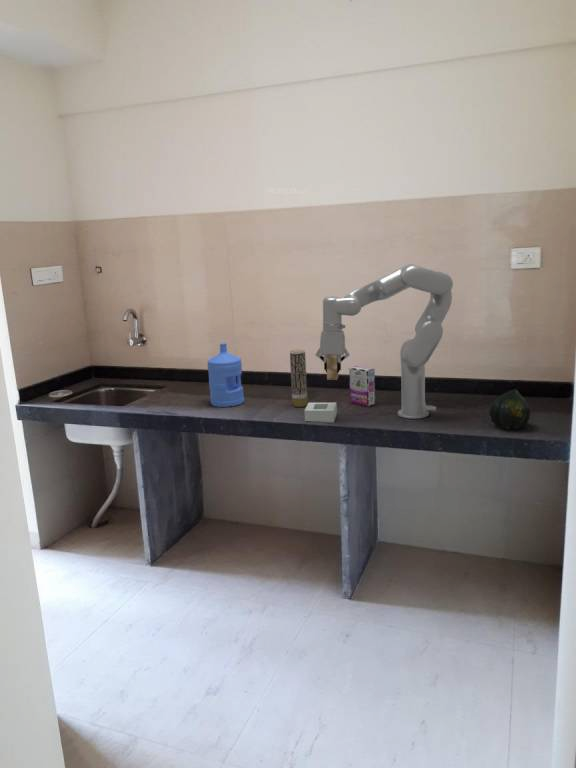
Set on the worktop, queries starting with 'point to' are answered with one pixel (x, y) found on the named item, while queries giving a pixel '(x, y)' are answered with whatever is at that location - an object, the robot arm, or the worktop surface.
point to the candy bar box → (362, 386)
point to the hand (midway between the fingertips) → (332, 371)
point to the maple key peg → (332, 367)
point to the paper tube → (298, 378)
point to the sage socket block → (321, 412)
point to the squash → (510, 410)
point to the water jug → (225, 379)
